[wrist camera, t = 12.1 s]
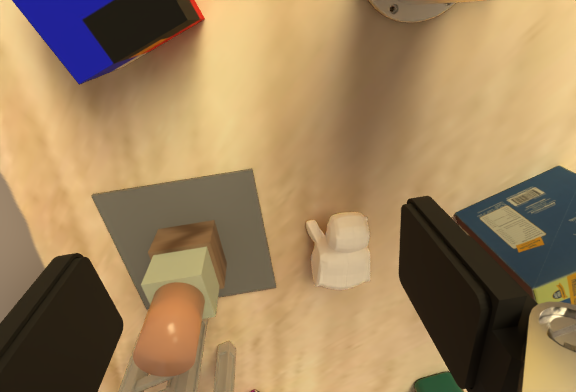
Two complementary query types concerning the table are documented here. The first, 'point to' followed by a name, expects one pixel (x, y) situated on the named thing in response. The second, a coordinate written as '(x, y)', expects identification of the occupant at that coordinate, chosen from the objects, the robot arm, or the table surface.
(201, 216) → the rubber mat
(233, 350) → the stool
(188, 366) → the peach egg shape
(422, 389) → the pitcher
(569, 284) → the protein box
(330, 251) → the cream shape with stub
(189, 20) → the puzzle toy
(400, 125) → the table surface
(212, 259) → the tower base
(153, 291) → the tower top
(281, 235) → the table surface
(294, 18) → the table surface
